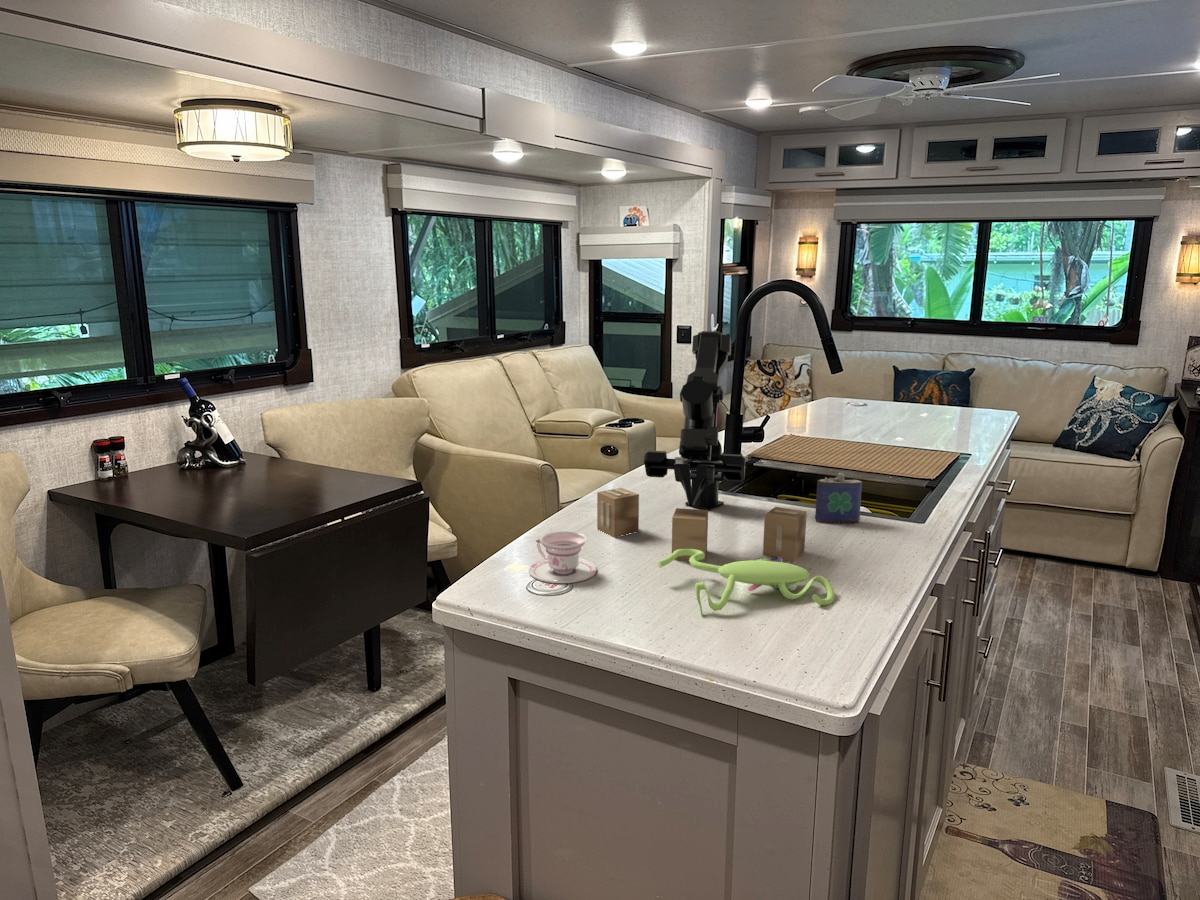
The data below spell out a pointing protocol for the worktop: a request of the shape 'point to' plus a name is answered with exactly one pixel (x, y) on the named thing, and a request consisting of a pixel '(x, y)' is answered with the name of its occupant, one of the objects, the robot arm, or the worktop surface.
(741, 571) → the figurine
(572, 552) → the teacup
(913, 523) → the worktop surface
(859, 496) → the flask
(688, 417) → the robot arm
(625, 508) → the striped block
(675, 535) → the plain block
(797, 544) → the striped block
